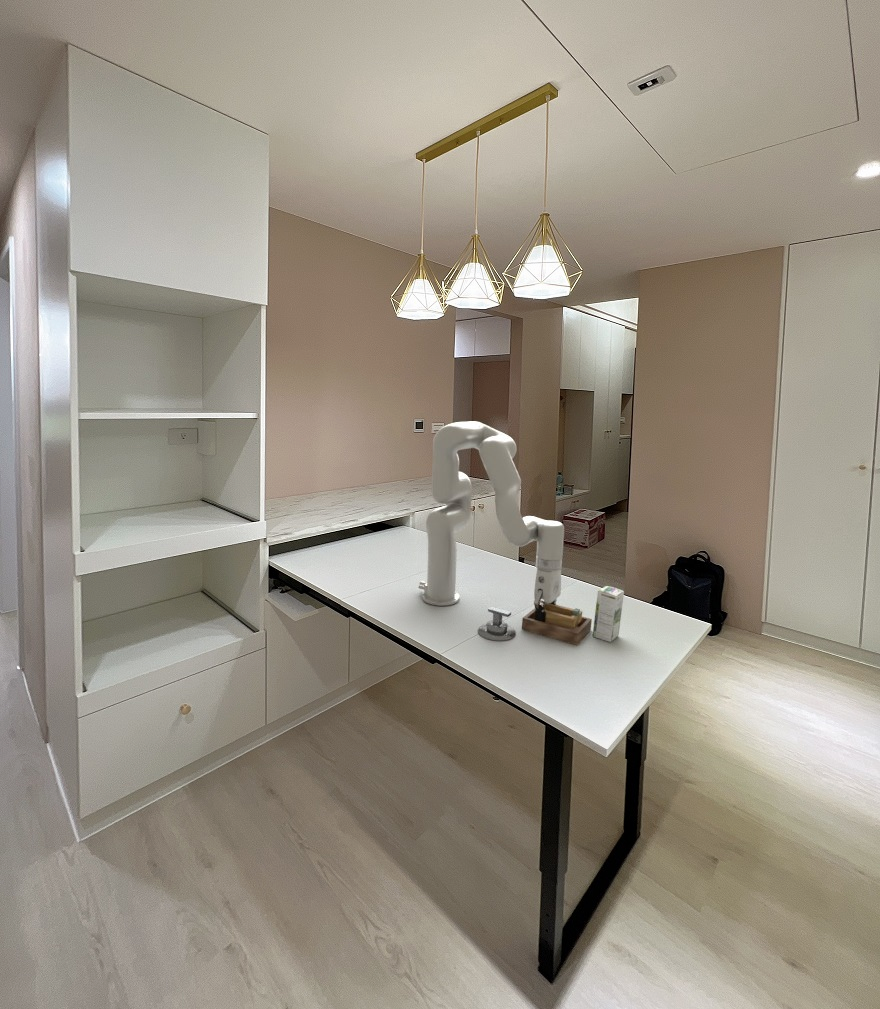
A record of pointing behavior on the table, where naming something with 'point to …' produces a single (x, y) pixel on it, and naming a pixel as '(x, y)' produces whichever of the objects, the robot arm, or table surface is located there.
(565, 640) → the tray
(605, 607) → the syrup box
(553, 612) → the light wooden frame
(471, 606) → the table surface
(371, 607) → the table surface
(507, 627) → the door handle
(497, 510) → the robot arm
